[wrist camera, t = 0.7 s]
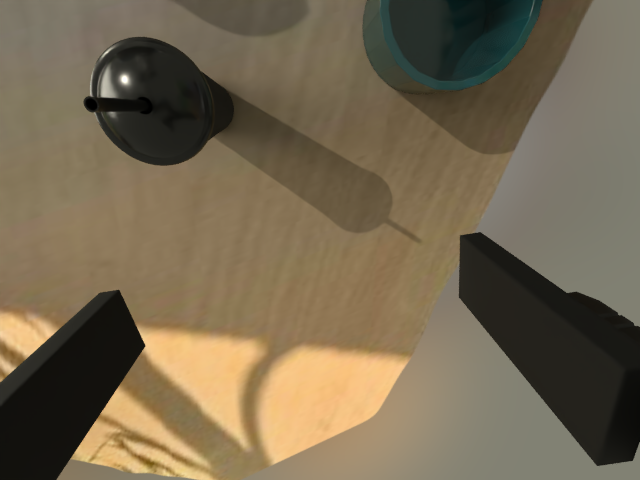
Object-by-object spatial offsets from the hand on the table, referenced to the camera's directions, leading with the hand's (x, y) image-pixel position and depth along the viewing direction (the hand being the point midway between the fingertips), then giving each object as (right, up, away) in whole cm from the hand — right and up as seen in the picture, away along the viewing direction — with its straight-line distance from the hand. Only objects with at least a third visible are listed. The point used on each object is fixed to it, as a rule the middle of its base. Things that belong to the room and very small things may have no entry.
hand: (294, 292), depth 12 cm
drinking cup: (-10, +16, +21) cm, 28 cm away
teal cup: (+11, +23, +19) cm, 32 cm away
